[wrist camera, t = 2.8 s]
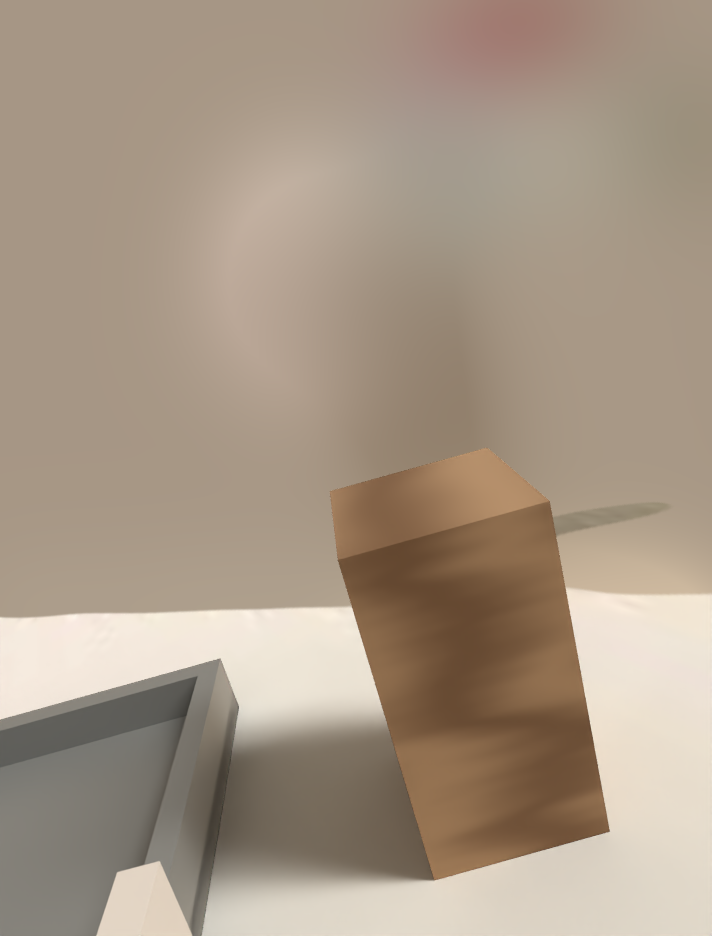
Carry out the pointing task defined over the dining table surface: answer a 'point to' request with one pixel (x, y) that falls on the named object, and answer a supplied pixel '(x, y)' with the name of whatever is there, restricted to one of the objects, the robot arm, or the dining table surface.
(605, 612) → the dining table surface
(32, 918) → the tray
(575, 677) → the block
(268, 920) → the dining table surface
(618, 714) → the dining table surface
